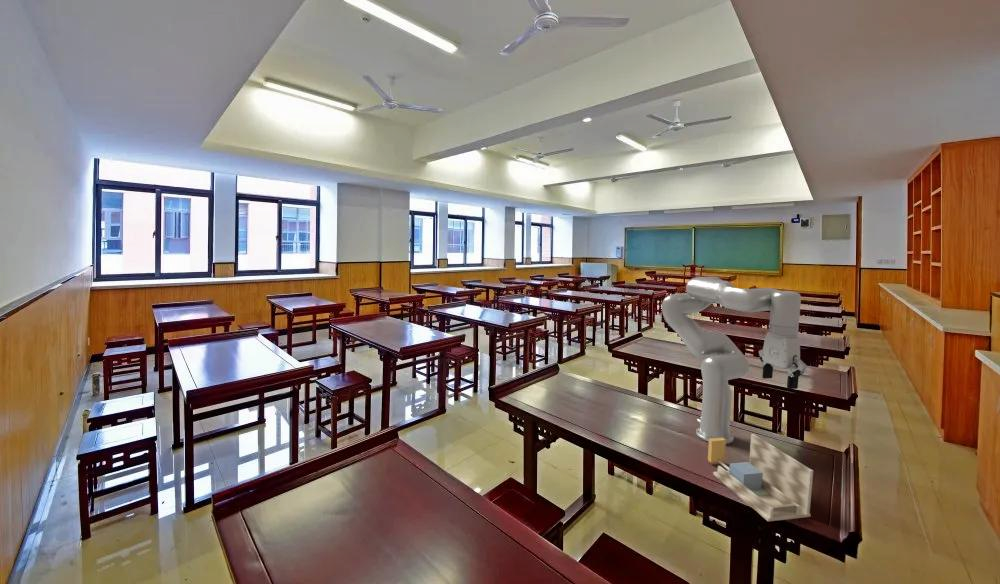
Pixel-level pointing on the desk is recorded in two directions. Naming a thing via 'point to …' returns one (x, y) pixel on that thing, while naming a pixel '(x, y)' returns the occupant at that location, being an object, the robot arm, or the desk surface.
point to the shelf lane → (774, 483)
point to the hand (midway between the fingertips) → (779, 383)
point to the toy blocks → (735, 465)
